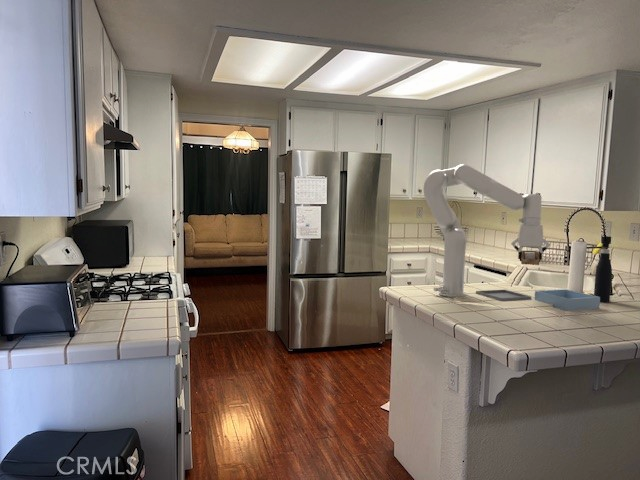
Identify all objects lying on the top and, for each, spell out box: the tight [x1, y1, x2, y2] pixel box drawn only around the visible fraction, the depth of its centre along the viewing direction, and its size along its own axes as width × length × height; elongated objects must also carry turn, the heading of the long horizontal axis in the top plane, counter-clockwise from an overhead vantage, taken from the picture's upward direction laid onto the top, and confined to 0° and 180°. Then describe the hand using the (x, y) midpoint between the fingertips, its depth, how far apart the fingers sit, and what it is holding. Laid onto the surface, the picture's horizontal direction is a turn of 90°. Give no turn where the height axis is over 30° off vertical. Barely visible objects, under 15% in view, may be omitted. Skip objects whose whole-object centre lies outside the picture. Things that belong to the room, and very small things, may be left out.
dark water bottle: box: [593, 235, 613, 303], centre depth 222 cm, size 6×6×30 cm
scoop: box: [520, 249, 540, 266], centre depth 217 cm, size 7×12×5 cm, turn 159°
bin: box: [534, 289, 601, 312], centre depth 212 cm, size 18×18×5 cm
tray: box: [475, 289, 532, 302], centre depth 223 cm, size 17×17×2 cm
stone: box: [525, 252, 535, 260], centre depth 218 cm, size 4×4×4 cm
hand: (529, 260), depth 217 cm, fingers closed on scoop, 7 cm apart
